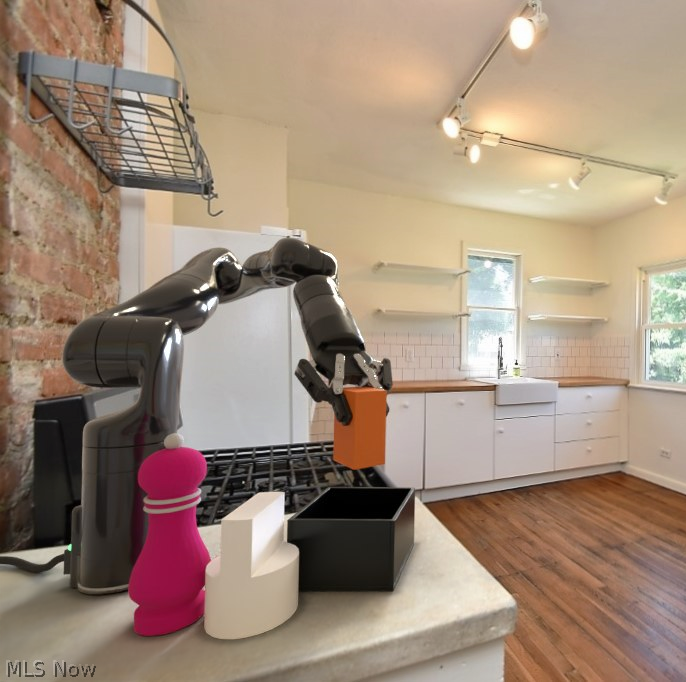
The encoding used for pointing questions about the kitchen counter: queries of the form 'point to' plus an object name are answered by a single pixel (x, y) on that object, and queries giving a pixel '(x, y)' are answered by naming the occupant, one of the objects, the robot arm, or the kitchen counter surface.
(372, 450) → the orange rectangular block
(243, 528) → the cylinder with rectangular tab
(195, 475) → the pepper mill
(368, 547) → the bin
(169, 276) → the robot arm
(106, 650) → the kitchen counter surface
